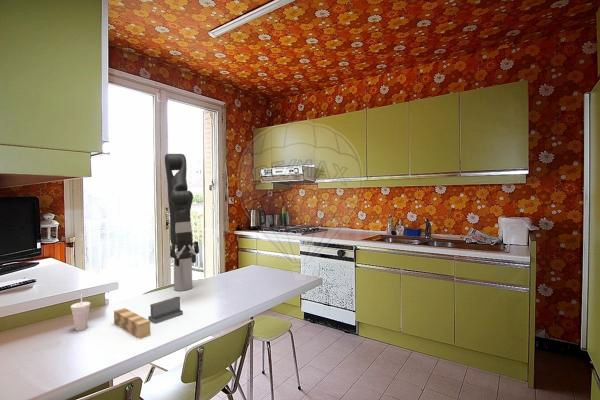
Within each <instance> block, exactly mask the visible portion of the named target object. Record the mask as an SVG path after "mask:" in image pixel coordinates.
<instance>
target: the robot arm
mask: <svg viewBox="0 0 600 400" xmlns="http://www.w3.org/2000/svg"><path fill="white" fill-rule="evenodd" d="M164 164H165V165H164V167H165V172H166V173H165V174H166V181H167V201H168V210H169V240H170V247H169V257H170V258H173V288H174V291H177V292H181V291H183V292H184V291H189V290H191V289H192V288H193V264H195V263H196V262H197V254H199V253H200V247H199V241H194V240H193V239H194V238H193V237H194V236H193V229H192V227H193V226H192V222H191V219H192V218H191V210H192V204H193V200H194V195H193V193H192V191H191V190H189V189H188V183H187V182H188V181H187V169H188V168H187V165H188V164H187V158H186V156H185V154H183V153H166V154H165V155H164ZM173 171H177V172H176V173H175V174H173ZM176 249H177V250H176Z"/></svg>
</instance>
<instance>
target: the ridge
mask: <svg viewBox="0 0 600 400" xmlns="http://www.w3.org/2000/svg"><path fill="white" fill-rule="evenodd" d="M183 314H184V313H183V310H182V309H181V297H180V296H175V297H172V298H168V299H164V300H161V301H158V302H155V303H150V315H149V316H148V317H147V318H148V319H147V320H149V321H150V323H154V324H155V325H156V324H159V323H162V322H165V321H168V320H170V319H173V318H174V319H175V318H176V317H179V316H182V315H183Z"/></svg>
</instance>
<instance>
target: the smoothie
mask: <svg viewBox="0 0 600 400" xmlns="http://www.w3.org/2000/svg"><path fill="white" fill-rule="evenodd" d="M90 307H91V302H90V301H83V293H80V301H79V302H77V303H76V302H75V303H73V304H72V305H70V310H71V313H72V319H73V323H74V328H75V331H76V332H81V331H84V330H86V329H88V323H89V316H90V315H89V314H90Z"/></svg>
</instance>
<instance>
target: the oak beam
mask: <svg viewBox="0 0 600 400" xmlns="http://www.w3.org/2000/svg"><path fill="white" fill-rule="evenodd" d="M113 323H114V325H116V326H117V327H119V328H121V329H123V330H124V331H126V332H127V333H128V334H131V335H132V336H134V337H135V338H136V339H138V340H141V339H143V338H146V337H149V336H150V335H151V321H149V319H147V318H145V317H143V316H142V315H140V314H138V313H135V312H133V311H131V310H129V309H127V308H126V307H122V308H119V309H116V310H113Z"/></svg>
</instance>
